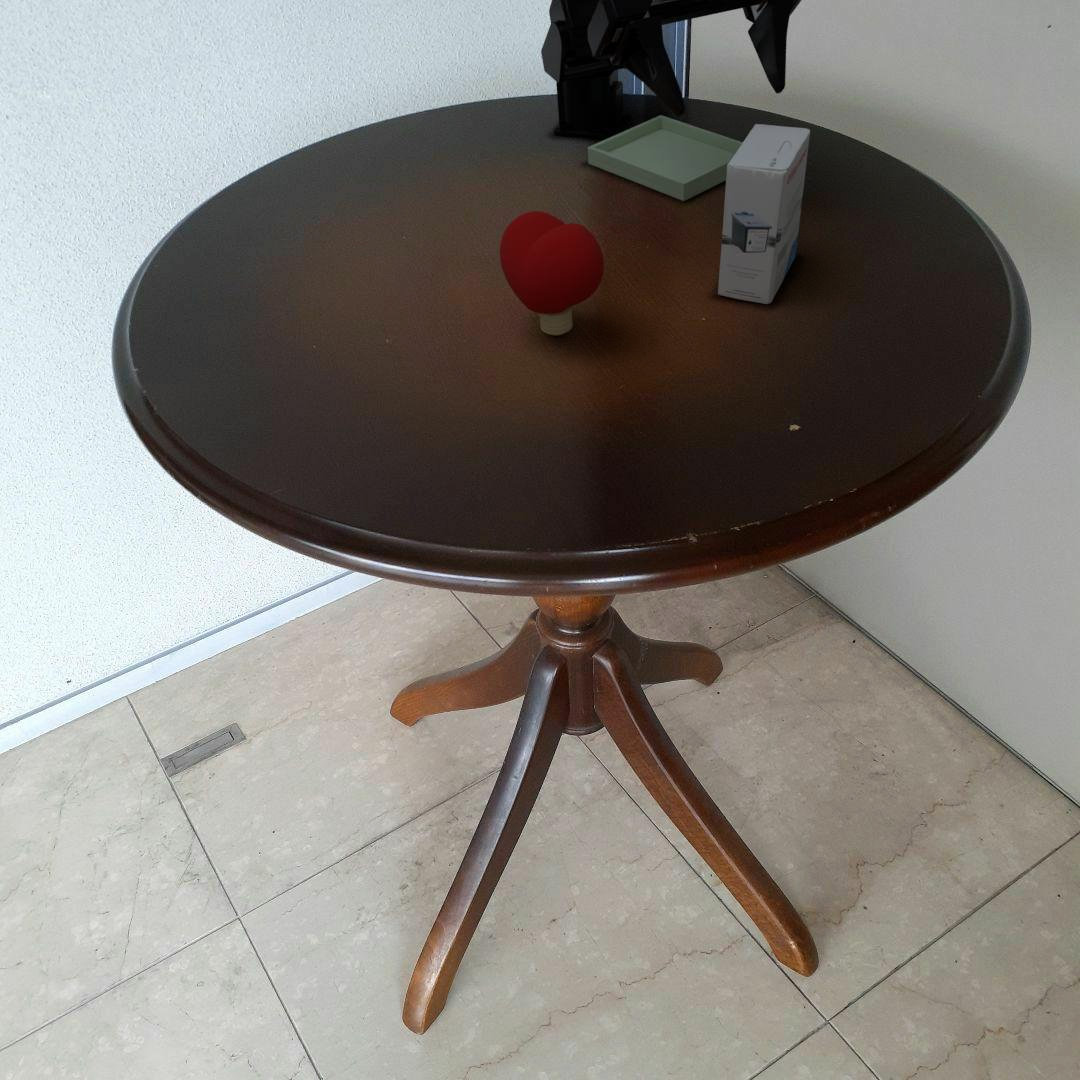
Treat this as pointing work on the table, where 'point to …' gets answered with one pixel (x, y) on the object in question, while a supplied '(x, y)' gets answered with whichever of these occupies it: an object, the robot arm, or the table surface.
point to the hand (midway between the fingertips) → (731, 102)
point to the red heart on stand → (550, 267)
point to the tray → (667, 156)
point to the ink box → (762, 212)
